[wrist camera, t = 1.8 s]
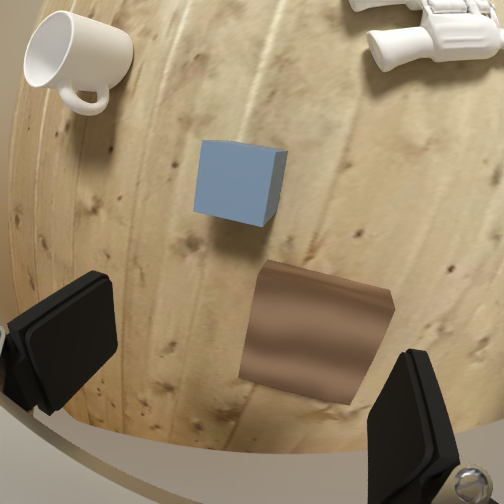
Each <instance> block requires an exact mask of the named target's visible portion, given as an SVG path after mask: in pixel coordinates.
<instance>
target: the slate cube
mask: <svg viewBox="0 0 504 504" xmlns="http://www.w3.org/2000/svg"><path fill="white" fill-rule="evenodd" d="M287 153H288V151H285V150H280V149H275V148H269V147H264V146H258V145H252V144H246V143H239V142H233V141H220V140H202V146H201V153H200V161H199V169H198V176H197V185H196V193H195V202H194V211H193V212H198V213H202V214H207V215H211V216H216V217H220V218H224V219H229V220H233V221H238V222H242V223H246V224H250V225H255V226H259V227H263V226H264V225H265V224H266V223H267V222H268V221H269V220H270V219H271V218H272V217H273V215H274V214H275V213H276V212H277V208H278V202H279V197H280V191H281V186H282V181H283V175H284V170H285V164H286V159H287Z"/></svg>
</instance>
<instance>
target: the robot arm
mask: <svg viewBox="0 0 504 504" xmlns="http://www.w3.org/2000/svg"><path fill="white" fill-rule="evenodd" d="M7 325H8V328H9V332H10V333H9V334H8V335H6V332H5V330H4V328H3V327H2V326H0V504H202V503H199V502H196V501H192V500H190V499H187V498H184V497H181V496H179V495H176V494H173V493H171V492H168V491H166V490H163V489H161V488H158V487H156V486H153V485H151V484H149V483H147V482H144V481H142V480H140V479H138V478H135V477H133V476H131V475H129V474H127V473H125V472H123V471H121V470H119V469H117V468H115V467H113V466H111V465H109V464H107V463H105V462H103V461H102V460H100V459H98V458H96V457H94V456H93V455H91V454H89V453H87V452H86V451H84V450H82V449H81V448H79V447H77V446H76V445H74V444H72V443H71V442H69V441H68V440H66V439H65V438H63V437H61V436H60V435H58V434H57V433H55V432H54V431H52V430H51V429H49V428H48V427H47V426H45V425H44V424H42V423H41V422H40V421H38V420H37V419H35V418H34V417H33V411H34V408H33V407H34V406H36V405H37V406H38V408H39V409H40V410H41V411H43V412H44V413H46V414H47V415H49V416H50V415H51V414H52V413H53V412H54V411H58V410H60V409H61V408H62V407H63V406H64V405H65V404H66V403H67V402H68V401H69V400H70V399H71V398H72V397H73V396H74V395H75V394H76V392H77V391H78V390H79V389H80V388H81V387H82V386H83V385H84V384H85V383H86V382H87V381H88V380H89V379H90V378H91V377H92V376H93V375H94V374H95V373H96V372H97V371H98V370H99V369H100V368H101V367H102V366H103V365H104V364H105V363H106V362H107V361H108V360H109V359H110V358H111V357H112V356H113V355H114V353H115V352H116V350H117V347H118V342H117V333H116V324H115V313H114V302H113V288H112V282H111V281H110V280H109V277H108V276H107V275H106V274H103V273H100V272H97V271H93V270H92V271H90V272H88V273H86V274H85V275H83V276H81V277H80V278H78V279H76V280H75V281H73V282H71V283H70V284H68V285H66V286H65V287H63V288H62V289H60V290H58V291H57V292H55V293H54V294H52V295H50V296H49V297H47V298H46V299H44V300H42V301H41V302H39V303H38V304H36V305H35V306H33V307H32V308H30V309H28V310H27V311H25V312H24V313H22V314H21V315H19V316H18V317H16V318H15V319H13V320H12V321H10V322H9V323H7ZM367 435H368V504H498V503H497V502H496V501H494V500H493V499H491V495H492V491H493V483H492V480H491V477H490V475H489V474H488V472H487V471H486V470H485V469H484V468H483V467H481V466H479V465H477V464H475V463H463V464H460V460H459V453H458V449H457V445H456V441H455V437H454V434H453V430H452V426H451V423H450V419H449V416H448V413H447V409H446V406H445V403H444V400H443V397H442V393H441V390H440V387H439V384H438V381H437V378H436V376H435V373H434V370H433V367H432V364H431V362H430V359H429V356H428V354H427V352H426V351H422V350H416V349H408V350H407V351H406V352H405V353H404V352H402V353H401V354H400V355H399V357H398V359H397V361H396V363H395V365H394V367H393V369H392V371H391V373H390V375H389V377H388V379H387V381H386V383H385V385H384V387H383V389H382V391H381V392H380V394H379V396H378V398H377V400H376V402H375V403H374V405H373V407H372V409H371V410H370V412H369V415H368V419H367Z"/></svg>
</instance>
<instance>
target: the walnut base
mask: <svg viewBox="0 0 504 504" xmlns="http://www.w3.org/2000/svg"><path fill="white" fill-rule="evenodd" d="M394 311H395V306H394V303H393V300H392V296H391V293H390V290H386V289H382V288H378V287H374V286H370V285H366V284H362V283H358V282H355V281H351V280H347V279H343V278H339V277H335V276H331V275H327V274H323V273H319V272H315V271H311V270H307V269H303V268H299V267H295V266H291V265H287V264H283V263H279V262H275V261H271V260H267V261H266V263H265V264H264V266H263V267H262V269H261V271H260V272H259V274H258V276H257V282H256V287H255V292H254V298H253V303H252V308H251V314H250V319H249V324H248V329H247V335H246V340H245V345H244V350H243V355H242V360H241V366H240V371H239V376H238V377H239V378H242V379H245V380H249V381H252V382H256V383H259V384H262V385H266V386H269V387H273V388H277V389H280V390H284V391H288V392H292V393H296V394H300V395H304V396H308V397H312V398H317V399H321V400H325V401H330V402H335V403H340V404H344V405H349V406H350V404H351V402H352V400H353V398H354V396H355V395H356V393H357V391H358V389H359V387H360V385H361V383H362V381H363V379H364V377H365V375H366V373H367V371H368V369H369V367H370V365H371V363H372V361H373V359H374V357H375V355H376V353H377V350H378V348H379V346H380V344H381V342H382V339H383V337H384V335H385V333H386V330H387V328H388V326H389V323H390V321H391V319H392V316H393V314H394Z"/></svg>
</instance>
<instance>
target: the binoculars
mask: <svg viewBox="0 0 504 504" xmlns="http://www.w3.org/2000/svg"><path fill="white" fill-rule="evenodd" d="M348 1H349V3H350V5H351V7H352V9H353V11H354V12H360V11H363V10H365V9H367V8H372V7H378V6H386V5H396V4H406V6H407V7H408V8H409V9H410V10H423V15H422V19H421V22H420V27H411V28H403V29H395V30H387V31H377V30H372V31H369V32H367V33H366V36H367V42H368V45H369V48H370V51H371V53H372V56H373V58H374V60H375V62H376V64H377V65H378V67H379V68H380V69H381V71H383V72H388V71H390V70H392V69H393V68H395V67H396V66H399V65H402V64H404V63H407V62H410V61H413V60H416V59H418V58H431V59H432V60H433V61H434V62H446V61H458V60H475V59H488V58H490V57H492V56H494V55H495V54H496V53H497V52H498V51H499V49H501V50H504V29H500V26H499V22H498V19H497V16H496V14H495V6H494V5H493V4H492V5H491V3H490V2H489V0H348ZM466 11H467V12H466ZM481 13H486V14H488V16H489V18H488V17H486V16H484V15H481Z"/></svg>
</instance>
